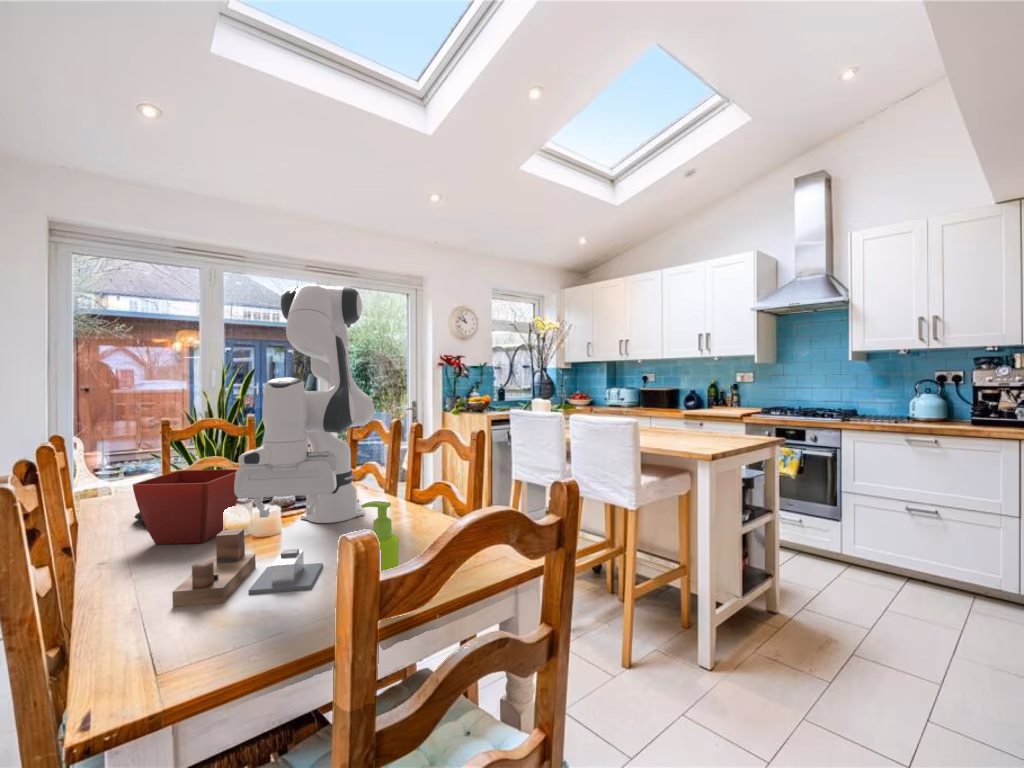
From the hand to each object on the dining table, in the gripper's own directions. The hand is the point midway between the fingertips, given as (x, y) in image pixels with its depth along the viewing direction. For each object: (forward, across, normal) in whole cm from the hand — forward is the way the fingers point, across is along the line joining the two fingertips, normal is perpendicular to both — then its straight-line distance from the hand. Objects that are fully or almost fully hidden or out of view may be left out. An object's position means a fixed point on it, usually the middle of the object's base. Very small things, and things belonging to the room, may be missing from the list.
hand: (287, 515), depth 105 cm
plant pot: (+15, +34, -34) cm, 50 cm away
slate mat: (+14, 0, +1) cm, 14 cm away
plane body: (+14, +14, +1) cm, 20 cm away
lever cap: (+13, 0, +1) cm, 13 cm away
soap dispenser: (+14, -21, +17) cm, 30 cm away
